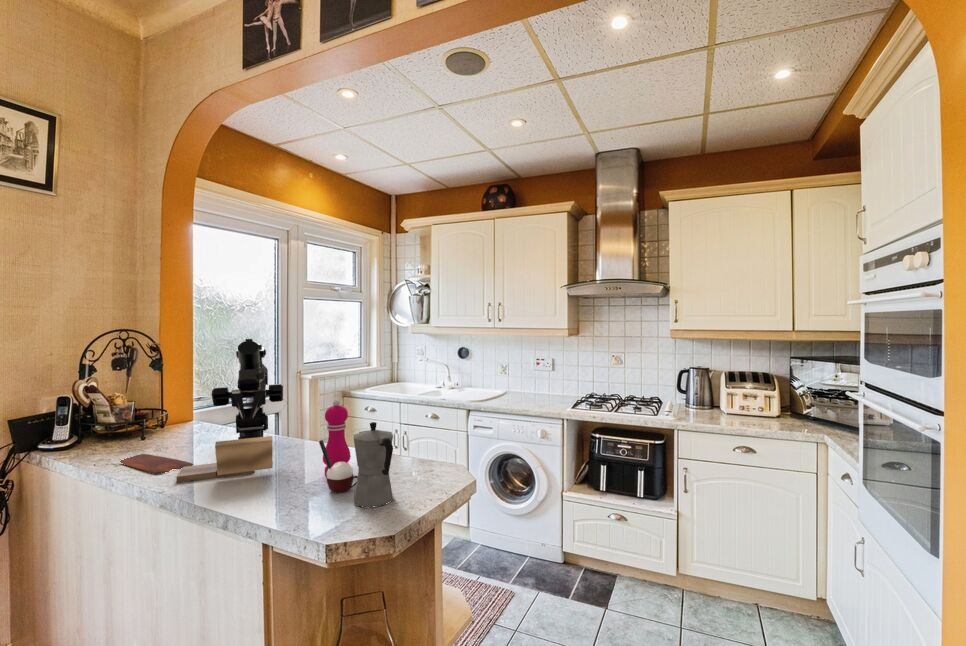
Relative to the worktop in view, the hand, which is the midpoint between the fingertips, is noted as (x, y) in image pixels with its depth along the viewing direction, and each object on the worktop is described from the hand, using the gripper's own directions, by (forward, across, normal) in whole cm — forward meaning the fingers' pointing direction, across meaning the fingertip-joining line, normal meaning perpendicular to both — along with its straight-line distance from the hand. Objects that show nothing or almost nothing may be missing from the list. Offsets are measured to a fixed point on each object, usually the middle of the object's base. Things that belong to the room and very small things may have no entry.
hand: (247, 418), depth 128 cm
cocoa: (+32, +22, -12) cm, 40 cm away
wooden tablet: (0, -26, +20) cm, 33 cm away
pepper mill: (+23, +22, -3) cm, 32 cm away
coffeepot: (+40, +28, -20) cm, 53 cm away
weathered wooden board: (+12, -7, +7) cm, 16 cm away
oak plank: (+14, 0, -3) cm, 15 cm away
